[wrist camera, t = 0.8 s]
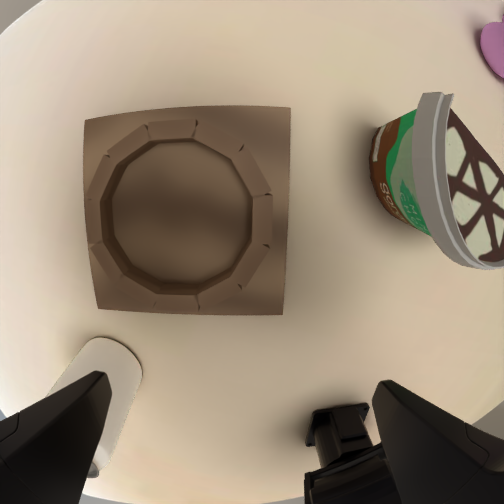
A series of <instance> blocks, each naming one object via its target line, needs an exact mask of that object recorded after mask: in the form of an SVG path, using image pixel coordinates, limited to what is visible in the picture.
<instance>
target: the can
mask: <svg viewBox="0 0 504 504" xmlns="http://www.w3.org/2000/svg"><path fill="white" fill-rule="evenodd" d="M95 370H97V371H102V372H105V373H106V374H107V375H108V378H109V382H110V385H111V389H112V398H111V402H110V406H109V410H108V413H107V417H106V421H105V426H104V429H103V433H102V436H101V439H100V441H99V444H98V447H97V449H96V452H95V455H94V458H93V461H92V464H91V466H90V469H89V472H88V475H87V478H96V477H98V476H99V471H100V470H101V469H103V468H104V467H105V466H106V465H108V463H109V462H110V460H111V457H112V455H113V452H114V449H115V447H116V444H117V441H118V439H119V436H120V433H121V431H122V428H123V425H124V423H125V420H126V418H127V415H128V413H129V410H130V407H131V405H132V402H133V400H134V397H135V395H136V392H137V390H138V387H139V385H140V382H141V379H142V369H141V366H140V364H139V362H138V360H137V359H136V357H135V356H134V355H133V353H132V352H131V351H130V350H129V349H128V348H126V347H125V346H124V345H122V344H120V343H119V342H117V341H114V340H111V339H107V338H94V339H91V340H90V341H88V342H87V343H86V344H85V345H84V346H83V348H82V349H81V350H80V351H79V353H78V354H77V355H76V357H75V358H74V359H73V360H72V362H71V363H70V364H69V366H68V367H67V368H66V370H65V371H64V372H63V374H62V375H61V376H60V378H59V379H58V380H57V382H56V383H55V385H54V386H53V387H52V389H51V390H50V392H49V393H48V394H47V396H46V397H48V396H49V395H51V394H53V393H55V392H57V391H58V390H60V389H62V388H64V387H66V386H68V385H69V384H71V383H73V382H75V381H77V380H78V379H80V378H82V377H84V376H85V375H87V374H89V373H91V372H93V371H95ZM46 397H45V398H46Z"/></svg>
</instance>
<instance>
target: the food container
mask: <svg viewBox="0 0 504 504" xmlns="http://www.w3.org/2000/svg"><path fill="white" fill-rule="evenodd" d="M453 97H454V94H448V95H444V94H443V93H442V92H432V93H423V94H422V97H421V99H420V102H419V104H418V107H417V109H415V110H413V111H411V112H409V113H407V114H405V115H403V116H401V117H399V118H397V119H395V120H393V121H391V122H389V123H387V124H385V125H383V126H381V127H379V128H378V130H377V132H376V134H375V136H374V138H373V141H372V146H371V152H370V157H369V162H370V176H371V181H372V183H373V186H374V189H375V192H376V195H377V197H378V199H379V200H380V202H381V203H382V205H383V206H384V208H385V209H386V210H387V211H388V212H389V213H390V214H391V215H393V216H394V217H396V218H397V219H399V220H401V221H403V222H405V223H407V224H409V225H411V226H413V227H415V228H417V229H419V230H420V231H422V232H424V233H426V234H428V235H430V236H432V237H433V239H434V241H435V243H436V244H437V245H438V247H439V248H440V249H441V250H442V252H443V253H444V254H445V255H446V256H447V257H449V258H450V259H451V260H452V261H454V262H456V263H458V264H460V265H462V266H467V267H471V268H477V269H483V270H493V269H497V268H504V174H503V173H502V171H501V170H500V168H499V167H498V166H497V164H496V163H495V162H494V160H493V159H492V158H491V157H490V156H489V154H488V153H487V152H486V151H485V150H484V149H483V147H482V146H481V145H480V144H479V143H478V141H477V140H476V139H475V138H474V136H473V135H472V134H471V132H470V131H469V130H468V129H467V127H466V126H465V125H464V124H463V122H462V121H461V120H460V119H459V118H458V116H457V115H456V114H455V113H454V112H453V110H452V109H451V108H450V106H451V103H452V100H453Z"/></svg>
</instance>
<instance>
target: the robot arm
mask: <svg viewBox="0 0 504 504" xmlns="http://www.w3.org/2000/svg"><path fill="white" fill-rule="evenodd" d="M111 398H112V389H111V385H110V382H109V378H108V375H107V374H106V373H105V372H102V371H97V370H95V371H93V372H91V373H89V374H87V375H85V376H84V377H82V378H80V379H78V380H77V381H75V382H73V383H71V384H69V385H68V386H66V387H64V388H62V389H60V390H58V391H57V392H55V393H53V394H51V395H49V396H48V397H46V398H44V399H42V400H40V401H38V402H36V403H35V404H33V405H31V406H29V407H27V408H25V409H23V410H21V411H20V413H19V412H18V413H16V414H14V415H12V416H10V417H8V418H6V419H4V420H2V421H0V504H79V500H80V497H81V494H82V491H83V488H84V484H85V481H86V478H87V475H88V472H89V469H90V466H91V464H92V461H93V458H94V455H95V452H96V449H97V447H98V444H99V441H100V439H101V436H102V433H103V429H104V426H105V421H106V417H107V413H108V410H109V406H110V402H111ZM372 406H373V410H374V414H375V418H376V422H377V426H378V431H379V435H380V438H381V443H379V444H377V445H375V446H373V444H372V441H371V439H370V437H369V435H368V432H367V429H366V427H365V425H364V420H365V418H366V416H367V413H368V411H369V408H370V407H369V405H368V404H367V403H366V404H360V405H354V406H348V407H341V408H334V409H326V410H318V411H315V412H313V414H312V418H311V422H310V426H309V430H308V434H307V438H306V442H305V444H306V446H307V447H310V446H316V449H317V453H318V457H319V461H320V465H321V469H318V470H316V471H313V472H307V473H305V480H304V496H305V504H504V440H503V439H500V438H498V437H495V436H493V435H490V434H488V433H486V432H483V431H481V430H479V429H477V428H475V427H473V426H472V425H470V424H468V423H466V422H465V423H464V421H462V420H460V419H459V418H457V417H455V416H453V415H451V414H450V413H448V412H446V411H444V410H442V409H441V408H439V407H437V406H435V405H434V404H432V403H430V402H428V401H427V400H425V399H423V398H421V397H420V396H418V395H416V394H414V393H413V392H411V391H409V390H408V389H406V388H404V387H403V386H401V385H399V384H397V383H396V382H394V381H392V380H383V381H380V382H379V383H378V385H377V388H376V390H375V393H374V395H373V398H372Z"/></svg>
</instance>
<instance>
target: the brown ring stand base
mask: <svg viewBox="0 0 504 504" xmlns="http://www.w3.org/2000/svg"><path fill="white" fill-rule="evenodd" d="M290 119H291V108H287V107H270V106H195V107H178V108H165V109H155V110H145V111H137V112H130V113H122V114H116V115H110V116H104V117H98V118H93V119H88V120H85V125H84V148H83V184H84V207H85V221H86V232H87V242H88V250H89V258H90V265H91V272H92V278H93V284H94V290H95V296H96V301H97V306H98V309H107V310H119V311H133V312H149V313H169V314H195V315H283V302H284V286H285V269H286V251H287V230H288V206H289V175H290Z"/></svg>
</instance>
